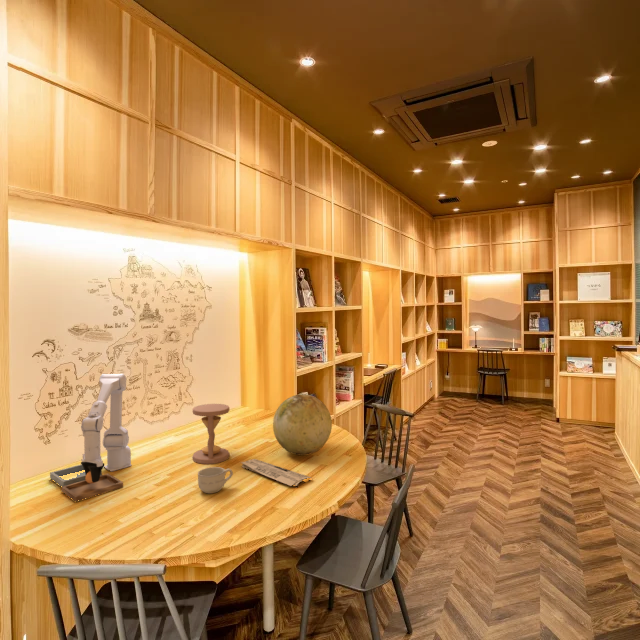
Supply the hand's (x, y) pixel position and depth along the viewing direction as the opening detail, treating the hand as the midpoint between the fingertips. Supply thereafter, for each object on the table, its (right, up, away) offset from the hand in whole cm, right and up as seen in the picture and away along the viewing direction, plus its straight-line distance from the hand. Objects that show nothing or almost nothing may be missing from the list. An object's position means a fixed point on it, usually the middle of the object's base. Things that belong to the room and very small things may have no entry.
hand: (92, 479), depth 169 cm
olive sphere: (+83, -4, +44) cm, 94 cm away
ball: (0, +1, 0) cm, 1 cm away
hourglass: (+38, -4, +37) cm, 53 cm away
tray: (0, -4, 0) cm, 4 cm away
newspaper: (+71, -5, +17) cm, 73 cm away
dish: (-13, -4, +11) cm, 17 cm away
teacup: (+50, -5, +1) cm, 50 cm away
